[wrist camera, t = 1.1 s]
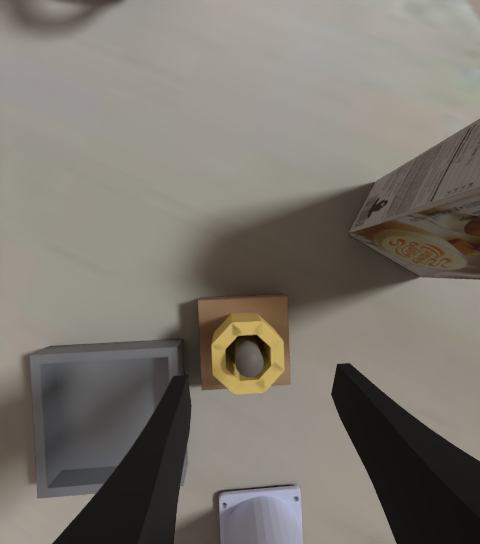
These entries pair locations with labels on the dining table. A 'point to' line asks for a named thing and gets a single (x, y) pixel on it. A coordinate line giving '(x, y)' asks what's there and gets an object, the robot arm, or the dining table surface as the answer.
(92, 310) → the dining table surface
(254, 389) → the ring
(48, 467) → the tray
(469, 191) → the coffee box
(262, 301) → the block
